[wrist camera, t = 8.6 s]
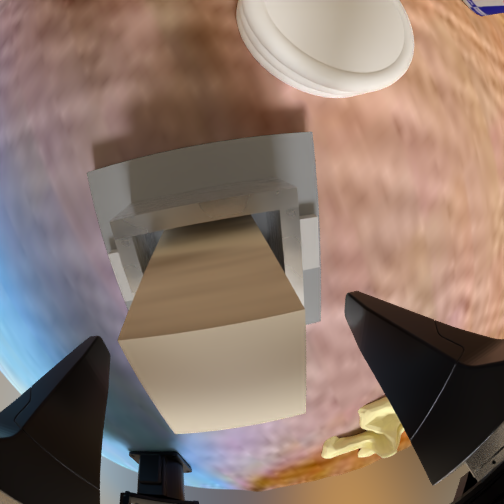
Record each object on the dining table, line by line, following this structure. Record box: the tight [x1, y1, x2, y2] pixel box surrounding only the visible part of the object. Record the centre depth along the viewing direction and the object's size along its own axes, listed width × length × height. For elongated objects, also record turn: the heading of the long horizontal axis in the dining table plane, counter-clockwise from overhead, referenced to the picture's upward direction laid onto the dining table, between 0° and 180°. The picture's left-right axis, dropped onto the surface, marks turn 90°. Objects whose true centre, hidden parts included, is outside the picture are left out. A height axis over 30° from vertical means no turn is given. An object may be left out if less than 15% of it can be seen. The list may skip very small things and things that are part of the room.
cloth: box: [321, 397, 404, 458], centre depth 27 cm, size 22×19×6 cm
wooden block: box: [118, 214, 306, 434], centre depth 11 cm, size 4×4×9 cm
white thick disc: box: [236, 0, 414, 98], centre depth 10 cm, size 10×10×4 cm
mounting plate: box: [87, 132, 321, 325], centre depth 15 cm, size 12×12×2 cm
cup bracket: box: [110, 177, 304, 306], centre depth 13 cm, size 8×8×4 cm
